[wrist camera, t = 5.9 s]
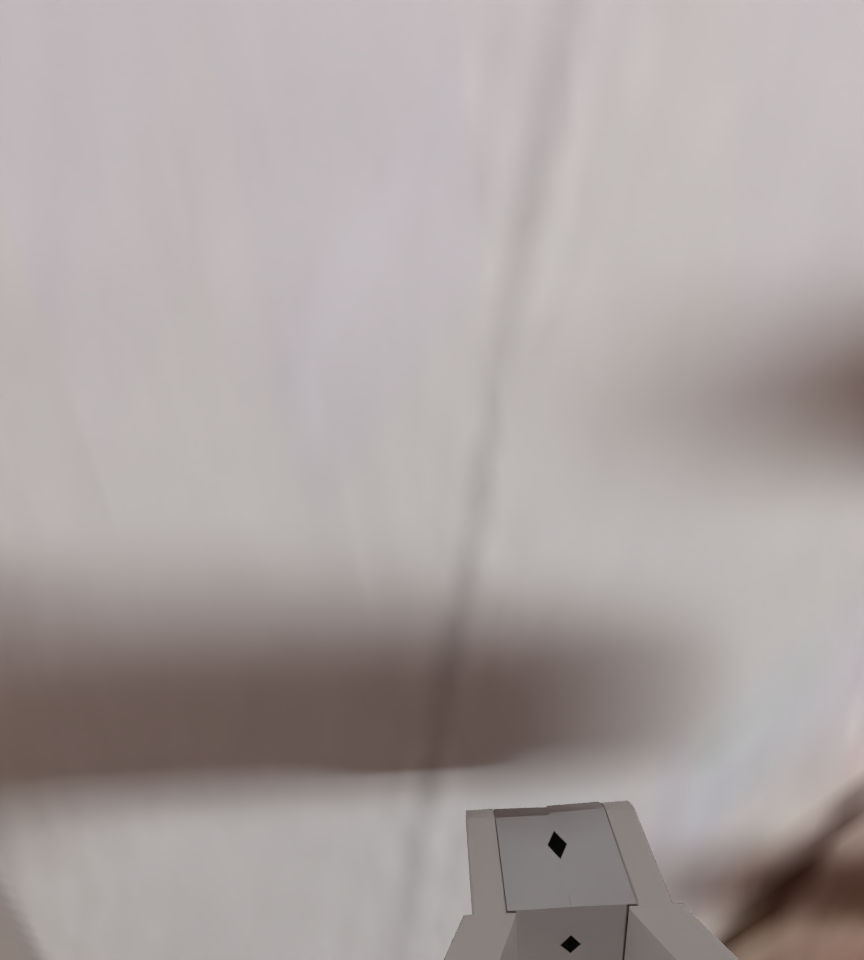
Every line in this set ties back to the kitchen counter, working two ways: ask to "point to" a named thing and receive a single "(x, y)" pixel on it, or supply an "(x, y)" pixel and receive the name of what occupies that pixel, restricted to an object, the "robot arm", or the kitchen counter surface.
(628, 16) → the kitchen counter surface
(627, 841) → the robot arm
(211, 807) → the kitchen counter surface
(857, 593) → the kitchen counter surface
